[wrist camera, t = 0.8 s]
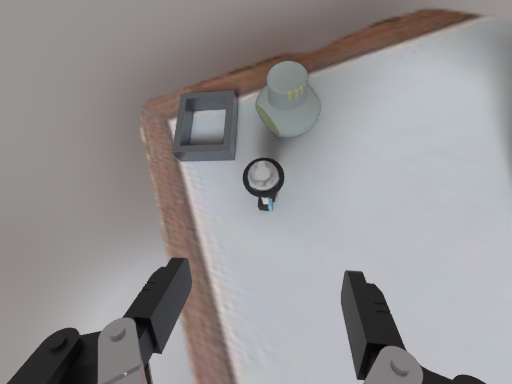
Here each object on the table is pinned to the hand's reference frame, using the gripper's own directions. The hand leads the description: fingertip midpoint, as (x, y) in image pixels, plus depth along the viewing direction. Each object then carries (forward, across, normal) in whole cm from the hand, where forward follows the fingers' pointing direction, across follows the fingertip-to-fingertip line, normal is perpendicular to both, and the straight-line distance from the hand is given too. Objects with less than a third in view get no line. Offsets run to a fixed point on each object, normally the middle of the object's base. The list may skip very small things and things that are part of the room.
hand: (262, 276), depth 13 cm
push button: (+27, +2, +9) cm, 28 cm away
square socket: (+35, +13, 0) cm, 37 cm away
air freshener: (+37, -1, -2) cm, 37 cm away
